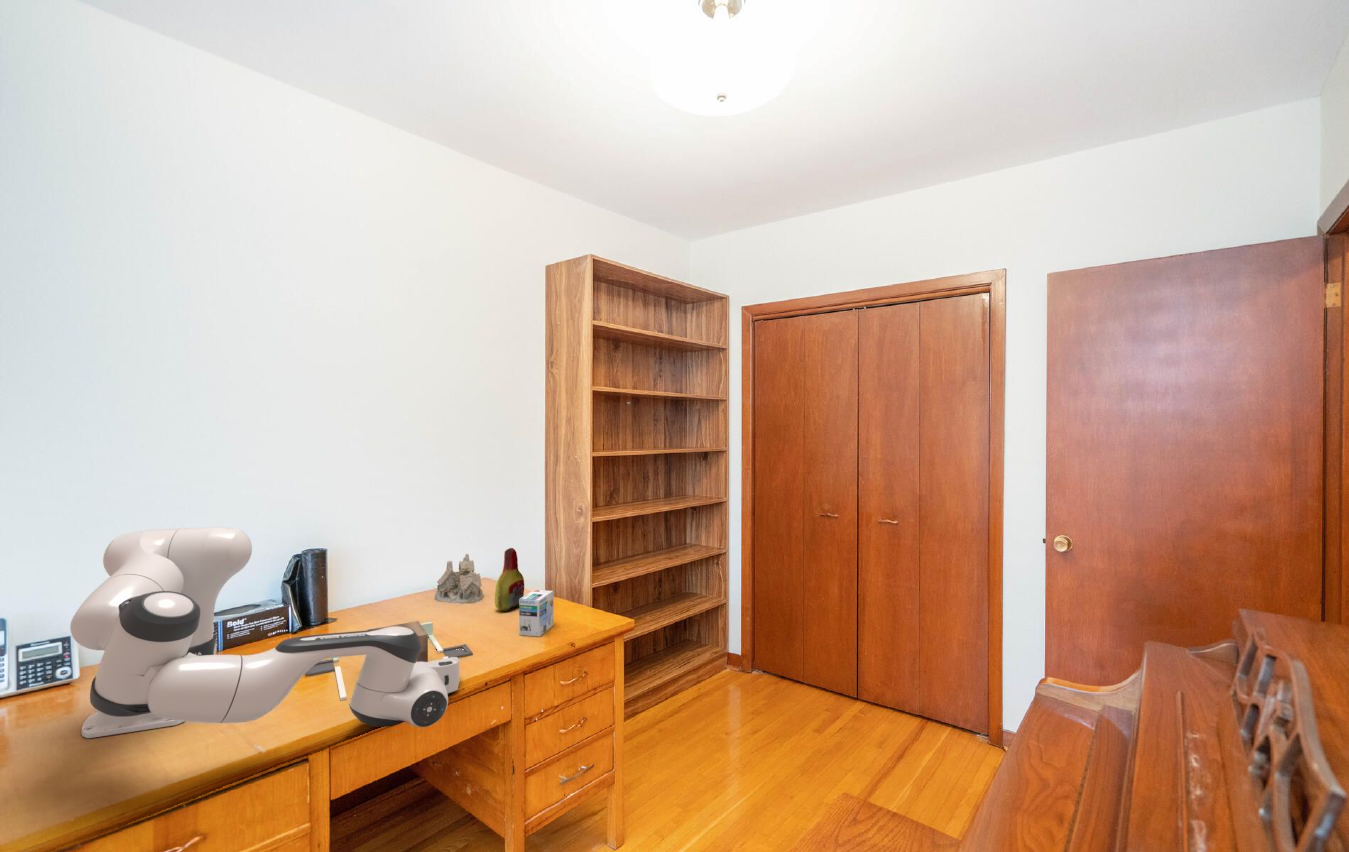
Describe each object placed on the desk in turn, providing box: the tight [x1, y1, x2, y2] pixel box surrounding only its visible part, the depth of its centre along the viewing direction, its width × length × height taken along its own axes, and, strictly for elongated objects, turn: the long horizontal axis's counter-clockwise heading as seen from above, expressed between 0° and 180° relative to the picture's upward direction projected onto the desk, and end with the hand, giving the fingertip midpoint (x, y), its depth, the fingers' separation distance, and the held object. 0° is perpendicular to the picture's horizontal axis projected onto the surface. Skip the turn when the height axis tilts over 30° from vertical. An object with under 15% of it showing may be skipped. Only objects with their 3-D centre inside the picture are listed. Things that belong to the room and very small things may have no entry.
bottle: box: [494, 547, 525, 612], centre depth 199 cm, size 12×6×20 cm, turn 150°
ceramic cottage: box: [434, 553, 484, 605], centre depth 211 cm, size 16×16×15 cm
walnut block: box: [368, 620, 429, 662], centre depth 149 cm, size 12×12×10 cm
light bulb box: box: [518, 589, 555, 638], centre depth 178 cm, size 11×7×11 cm, turn 168°
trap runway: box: [305, 621, 474, 701], centre depth 153 cm, size 38×32×4 cm
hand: (410, 665), depth 145 cm, fingers closed
